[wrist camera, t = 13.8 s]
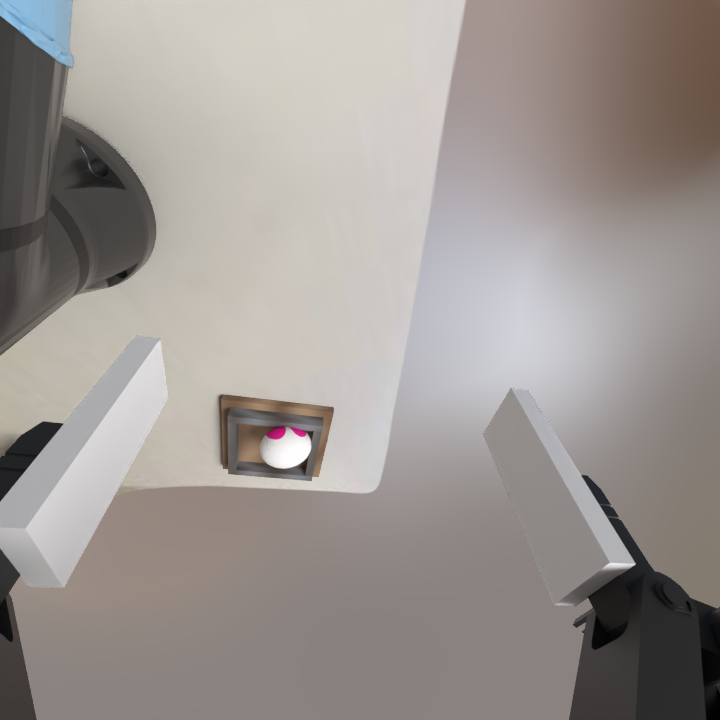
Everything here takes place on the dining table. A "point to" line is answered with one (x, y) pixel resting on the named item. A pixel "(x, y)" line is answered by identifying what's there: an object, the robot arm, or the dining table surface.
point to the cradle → (255, 419)
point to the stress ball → (285, 447)
